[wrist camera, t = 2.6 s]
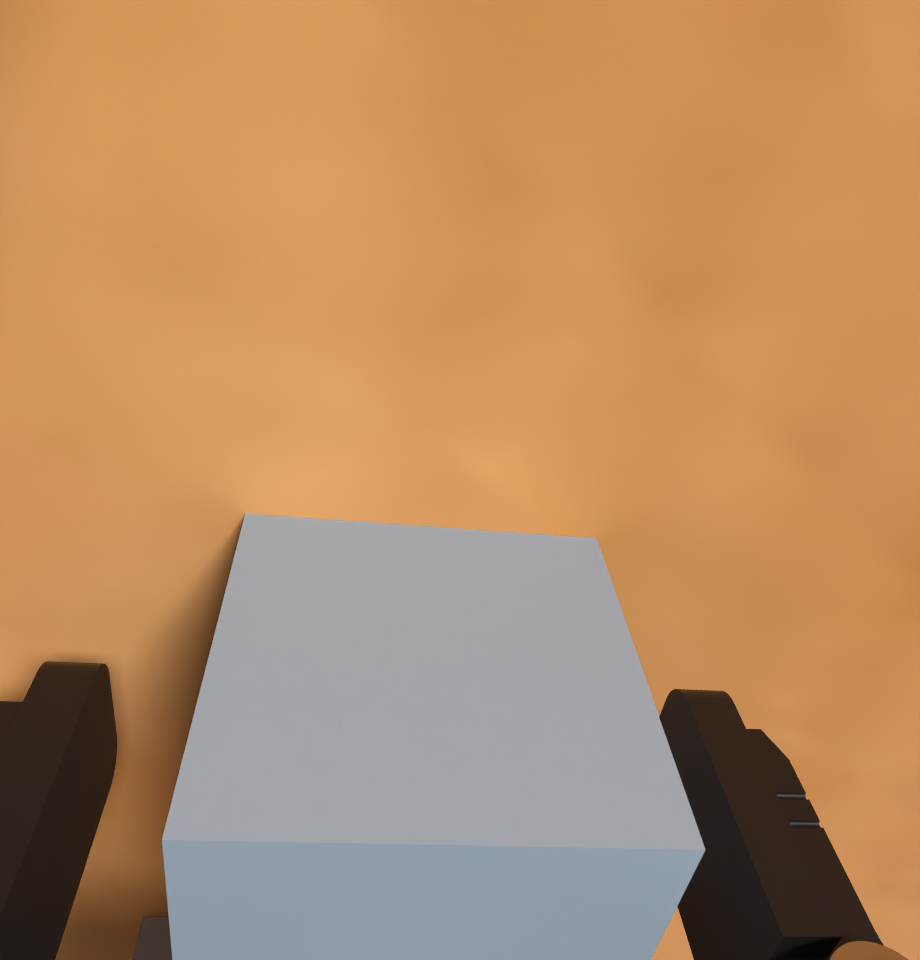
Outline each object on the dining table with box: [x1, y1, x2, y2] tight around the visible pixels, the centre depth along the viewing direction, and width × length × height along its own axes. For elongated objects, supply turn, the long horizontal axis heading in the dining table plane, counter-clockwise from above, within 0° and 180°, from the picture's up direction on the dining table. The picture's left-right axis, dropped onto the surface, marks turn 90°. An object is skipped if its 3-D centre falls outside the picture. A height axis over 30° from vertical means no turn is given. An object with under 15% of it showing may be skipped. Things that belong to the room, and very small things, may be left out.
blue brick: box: [162, 514, 705, 960], centre depth 11 cm, size 5×5×5 cm
